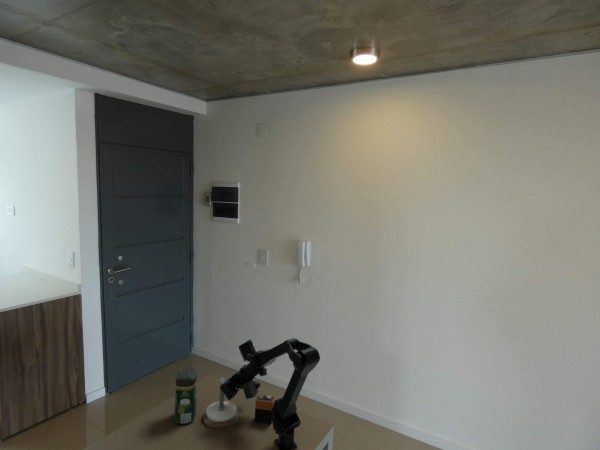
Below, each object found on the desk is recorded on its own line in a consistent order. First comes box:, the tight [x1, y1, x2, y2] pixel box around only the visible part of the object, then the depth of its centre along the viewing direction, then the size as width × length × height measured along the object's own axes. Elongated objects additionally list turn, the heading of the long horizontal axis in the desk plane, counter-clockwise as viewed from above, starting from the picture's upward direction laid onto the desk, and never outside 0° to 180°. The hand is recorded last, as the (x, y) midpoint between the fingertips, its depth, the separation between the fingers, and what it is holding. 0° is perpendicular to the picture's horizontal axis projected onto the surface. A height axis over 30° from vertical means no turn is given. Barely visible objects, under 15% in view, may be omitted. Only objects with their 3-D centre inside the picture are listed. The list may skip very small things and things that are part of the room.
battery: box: [254, 394, 275, 425], centre depth 139 cm, size 4×7×10 cm, turn 84°
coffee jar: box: [173, 367, 198, 425], centre depth 137 cm, size 10×8×19 cm
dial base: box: [202, 407, 240, 430], centre depth 139 cm, size 14×14×2 cm
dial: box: [205, 377, 237, 422], centre depth 139 cm, size 12×12×12 cm
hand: (224, 392), depth 144 cm, fingers closed
